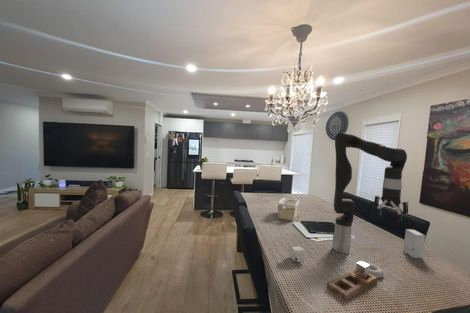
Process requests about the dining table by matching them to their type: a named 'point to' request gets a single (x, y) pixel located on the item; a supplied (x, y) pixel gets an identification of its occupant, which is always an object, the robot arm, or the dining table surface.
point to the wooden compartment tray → (350, 284)
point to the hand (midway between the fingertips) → (389, 218)
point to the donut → (375, 270)
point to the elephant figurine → (297, 253)
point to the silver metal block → (362, 270)
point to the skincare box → (414, 243)
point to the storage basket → (288, 208)
